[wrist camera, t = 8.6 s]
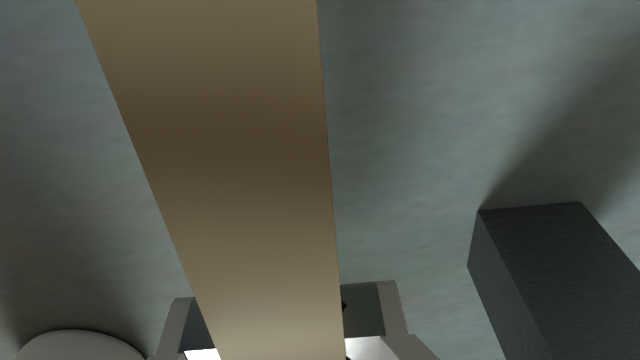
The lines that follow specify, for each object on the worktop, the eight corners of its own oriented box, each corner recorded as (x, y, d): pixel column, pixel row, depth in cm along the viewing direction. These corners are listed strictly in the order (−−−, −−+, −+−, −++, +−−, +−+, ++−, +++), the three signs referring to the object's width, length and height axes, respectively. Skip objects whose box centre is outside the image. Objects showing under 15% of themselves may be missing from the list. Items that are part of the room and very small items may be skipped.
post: (477, 211, 20) (590, 428, 12) (580, 202, 20) (761, 414, 12) (466, 266, 23) (556, 477, 15) (559, 258, 22) (698, 466, 15)
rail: (83, -255, 6) (-66, -351, 3) (291, -278, 6) (284, -390, 3) (289, 446, 18) (287, 526, 16) (351, 441, 18) (358, 520, 16)
